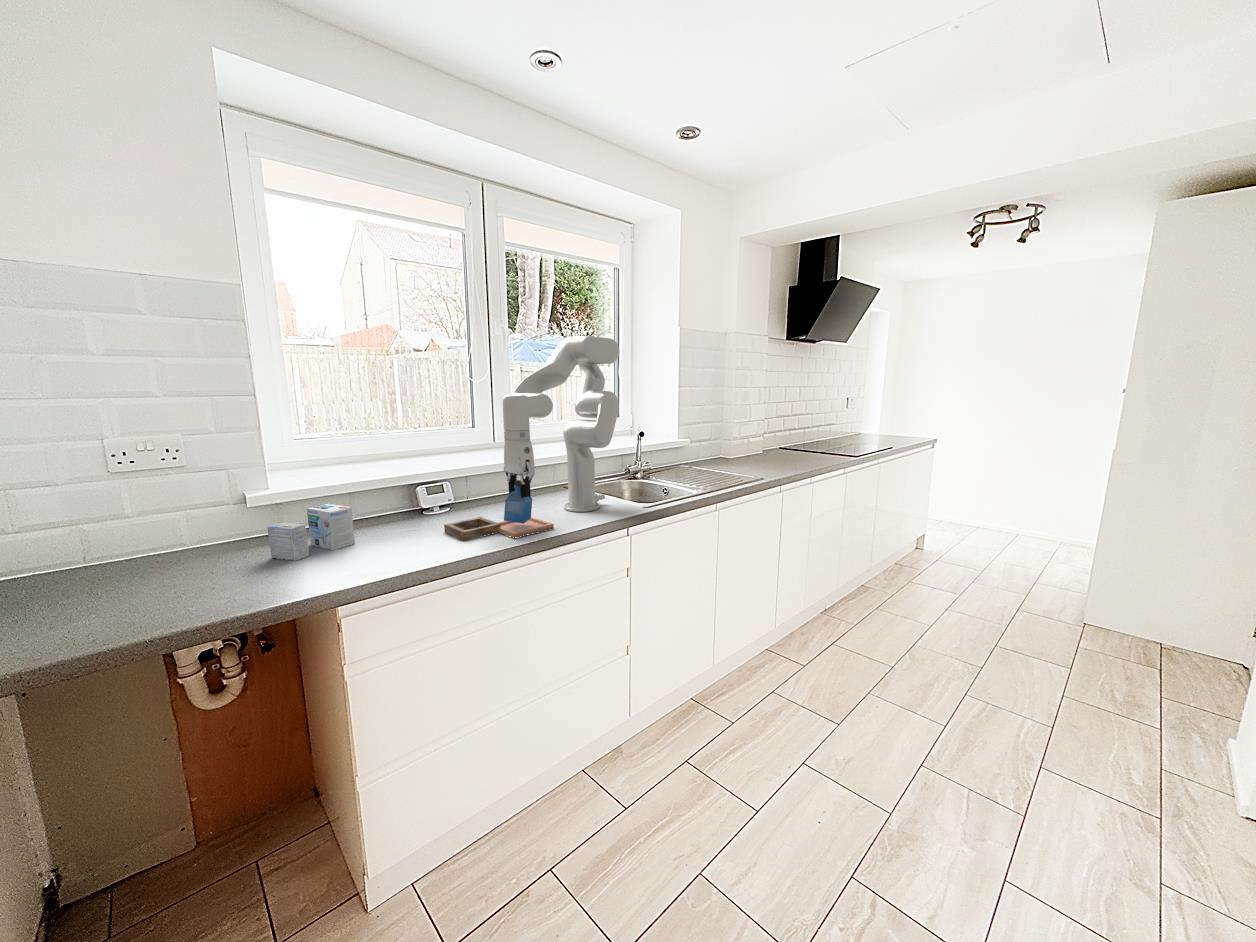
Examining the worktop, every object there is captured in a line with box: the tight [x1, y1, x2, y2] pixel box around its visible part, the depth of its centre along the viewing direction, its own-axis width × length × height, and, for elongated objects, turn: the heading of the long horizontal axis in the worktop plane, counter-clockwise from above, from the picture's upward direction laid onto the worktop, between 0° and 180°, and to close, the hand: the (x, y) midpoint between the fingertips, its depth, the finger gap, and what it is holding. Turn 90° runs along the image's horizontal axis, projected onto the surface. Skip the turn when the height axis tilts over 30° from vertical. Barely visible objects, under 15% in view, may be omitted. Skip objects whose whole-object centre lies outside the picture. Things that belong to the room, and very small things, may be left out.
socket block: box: [443, 516, 501, 542], centre depth 151 cm, size 12×12×2 cm
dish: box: [497, 516, 555, 538], centre depth 154 cm, size 14×14×2 cm
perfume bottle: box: [503, 479, 533, 524], centre depth 153 cm, size 6×6×12 cm
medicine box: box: [267, 522, 310, 562], centre depth 130 cm, size 8×4×9 cm, turn 74°
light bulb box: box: [306, 503, 356, 551], centre depth 140 cm, size 11×7×11 cm, turn 62°
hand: (519, 494), depth 152 cm, fingers closed on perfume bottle, 5 cm apart
